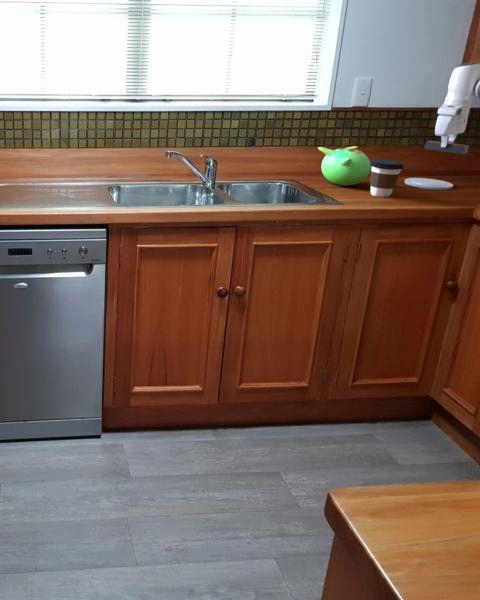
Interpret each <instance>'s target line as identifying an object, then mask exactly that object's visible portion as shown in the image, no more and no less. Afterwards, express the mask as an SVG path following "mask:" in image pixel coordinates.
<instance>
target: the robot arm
mask: <svg viewBox="0 0 480 600" xmlns="http://www.w3.org/2000/svg"><path fill="white" fill-rule="evenodd" d="M448 81H449V82H448V86H447V94H446V96H445V98H444V102H443V104H442V105H441V106H440V107H439V108H438V109H437V115H438V116H437V119H436V122H435V127H434V135H435V136H437V137H440V138H441V139H440V140H441V141H440V142H442V143H441V147H447V145H448V143H455V140H456V139H457V136H458V135H459V134H463V133H465V131H466V128H467V123H468V118H469V114H470V110H471V106H472V102H473V100H474V99H478V100H479V101H480V63H479V62H466V63H461V64H458V65H456V66H455V67H454V68H453V70H452V72H451V75H450V78H449V80H448Z"/></svg>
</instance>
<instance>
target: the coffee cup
mask: <svg viewBox="0 0 480 600" xmlns="http://www.w3.org/2000/svg"><path fill="white" fill-rule="evenodd" d="M370 165H371V169H370V181H369V182H370V184H369V185H370V195H371V196H374V197H378V198H389V197H390V196H391V195H392V193H393V190H394V189H395V187H396V184H397V181H398V179H399V177H400V174H401V171H402V170H403V169H405V168H404V167H405V166H404V163H403V162H402V161H398V160H392V159H381V158H379V159H373V160H371V162H370Z"/></svg>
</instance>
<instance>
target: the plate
mask: <svg viewBox="0 0 480 600" xmlns="http://www.w3.org/2000/svg"><path fill="white" fill-rule="evenodd" d="M404 184H406V185H408V186H410V187H415V188H420V189H425V190H426V189H427V190H435V191H436V190H437V191H438V190H439V191H445V190H446V191H448V190H452V189H453V188H454V184H453V183H451V182H448V181H446V180H440V179H434V178H427V177H426V178H424V177H408V178H405V179H404Z"/></svg>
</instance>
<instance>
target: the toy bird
mask: <svg viewBox="0 0 480 600" xmlns="http://www.w3.org/2000/svg"><path fill="white" fill-rule="evenodd" d="M358 147H359V146H358V145H354V146H348V147H340V148H337V149H331V148H327V147H322V146H319V147H317V149H318V150H319V151H320V152H321V153H322V154H324V155H325V156H324V158H323V159H322V161H321V166H320V168H321V173H322V176H323V177H324V178H325V179H326V180H327V181H328V182H330V183H332V184H335V185H337V186H343V187H347V186H348V187H349V186H354V185H357V184H360V183H362V182H364V181H365V180H366V179H367V177H369V175H370V174H371V170H372V166H371V165H370V163H371V161H370V159H369V157H368V156H367V155H366V154H365V153H364V152H362V151H361V150H359V149H357V148H358Z"/></svg>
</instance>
